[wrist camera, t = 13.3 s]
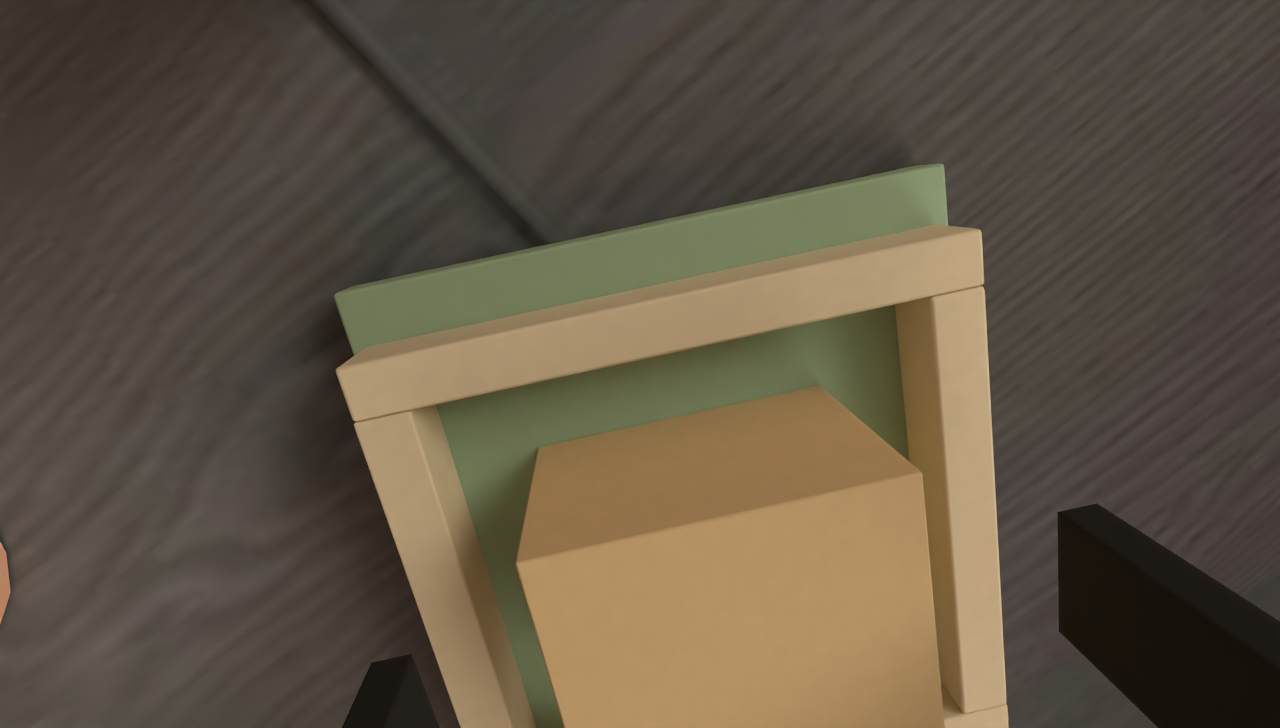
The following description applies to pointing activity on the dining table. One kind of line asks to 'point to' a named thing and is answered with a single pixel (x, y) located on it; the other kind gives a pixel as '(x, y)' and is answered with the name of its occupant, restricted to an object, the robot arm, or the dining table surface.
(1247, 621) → the robot arm
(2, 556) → the pepper shaker
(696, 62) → the dining table surface
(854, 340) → the base pad
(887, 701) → the tan rectangular block
